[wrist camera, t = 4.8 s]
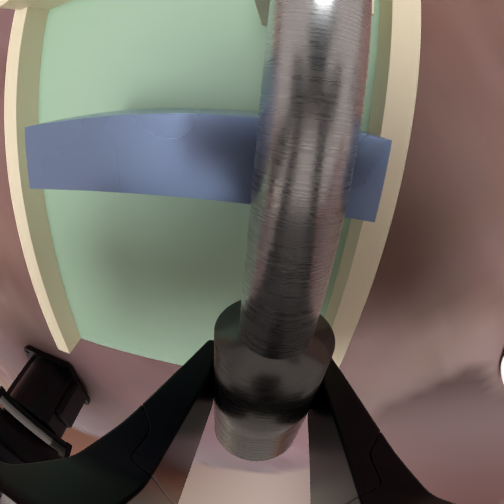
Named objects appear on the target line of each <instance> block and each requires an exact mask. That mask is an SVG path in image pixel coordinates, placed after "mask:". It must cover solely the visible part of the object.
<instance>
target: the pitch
mask: <svg viewBox="0 0 504 504" xmlns="http://www.w3.org/2000/svg"><path fill="white" fill-rule="evenodd" d="M269 6H270V0H0V8H6V9H16V10H15V14H14V19H13V24H12V29H11V35H10V41H9V48H8V56H7V66H6V78H5V98H4V126H5V147H6V159H7V169H8V178H9V185H10V192H11V198H12V204H13V209H14V215H15V220H16V224H17V229H18V233H19V238H20V242H21V246H22V250H23V253H24V257H25V261H26V264H27V267H28V271H29V274H30V277H31V280H32V284H33V287H34V290H35V292H36V295H37V298H38V301H39V304H40V306H41V309H42V312H43V314H44V317H45V319H46V322H47V324H48V327H49V329H50V331H51V334H52V336H53V338H54V341H55V343H56V345H57V347H58V349H59V350H61V351H64V352H67V353H69V354H70V353H71V352H72V350H73V349H74V347H75V346H76V344H77V343H78V342H79V340H80V339H85V340H88V341H91V342H94V343H97V344H100V345H104V346H107V347H110V348H114V349H117V350H121V351H124V352H128V353H132V354H136V355H139V356H143V357H147V358H151V359H156V360H160V361H164V362H169V363H173V364H178V365H182V366H183V365H184V364H185V363H186V362H187V361H188V360H189V359H190V358H191V357H192V356H193V355H194V354H195V353H196V352H197V351H198V350H199V349H200V348H201V347H202V346H203V345H204V344H205V343H206V342H207V341H208V340H214V327H215V323H216V321H217V318H218V317H219V315H220V314H221V313H222V312H223V311H224V310H225V309H226V308H227V307H228V306H230V305H231V304H233V303H235V302H237V301H240V300H242V289H243V278H244V267H245V255H246V244H247V233H248V222H249V211H250V204H242V203H233V202H224V201H215V200H205V199H195V198H184V197H173V196H161V195H148V194H134V193H119V192H102V191H82V190H56V189H30V186H29V178H28V169H27V158H26V144H25V127H28V126H32V125H36V124H41V123H45V122H50V121H55V120H60V119H65V118H70V117H76V116H82V115H89V114H95V113H103V112H110V111H119V110H135V109H164V108H193V109H222V110H239V111H252V112H259V105H260V95H261V85H262V74H263V64H264V54H265V45H266V35H267V25H268V15H269ZM420 41H421V0H372V20H371V37H370V51H369V62H368V73H367V82H366V91H365V99H364V107H363V115H362V122H361V129H360V130H363V131H367V132H370V133H373V134H375V135H378V136H381V137H384V138H387V139H390V140H392V144H391V150H390V155H389V161H388V166H387V171H386V176H385V180H384V185H383V190H382V194H381V198H380V203H379V207H378V211H377V215H376V219H375V222H370V221H364V220H358V219H352V218H345V217H344V221H343V225H342V230H341V234H340V238H339V243H338V247H337V251H336V255H335V259H334V263H333V267H332V271H331V275H330V279H329V283H328V286H327V290H326V294H325V297H324V301H323V304H322V308H321V311H320V314H321V315H322V316H323V317H324V318H325V319H326V320H327V322H328V323H329V324H330V326H331V328H332V330H333V332H334V336H335V350H334V353H333V355H332V358H333V360H334V361H335V363H336V364H337V366H338V367H340V364H341V362H342V360H343V358H344V355H345V353H346V351H347V348H348V346H349V344H350V341H351V339H352V336H353V334H354V331H355V329H356V327H357V324H358V321H359V319H360V316H361V314H362V311H363V308H364V306H365V303H366V300H367V298H368V295H369V292H370V289H371V286H372V283H373V280H374V277H375V274H376V271H377V268H378V265H379V262H380V259H381V256H382V253H383V249H384V246H385V243H386V239H387V236H388V232H389V229H390V225H391V222H392V218H393V214H394V210H395V206H396V202H397V198H398V194H399V190H400V186H401V181H402V177H403V172H404V167H405V162H406V157H407V152H408V147H409V141H410V135H411V129H412V123H413V116H414V109H415V101H416V93H417V83H418V73H419V60H420Z"/></svg>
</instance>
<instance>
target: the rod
mask: <svg viewBox="0 0 504 504" xmlns="http://www.w3.org/2000/svg"><path fill="white" fill-rule="evenodd" d="M371 20H372V0H270V6H269V15H268V25H267V35H266V45H265V54H264V64H263V74H262V85H261V95H260V105H259V112H252V111H239V110H222V109H193V108H164V109H135V110H119V111H110V112H103V113H95V114H89V115H82V116H76V117H70V118H65V119H60V120H55V121H50V122H45V123H41V124H36V125H32V126H28V127H25V144H26V158H27V169H28V178H29V186H30V189H56V190H82V191H102V192H119V193H134V194H148V195H161V196H173V197H184V198H195V199H205V200H215V201H224V202H233V203H242V204H250V211H249V222H248V233H247V244H246V255H245V267H244V278H243V289H242V300H240V301H237V302H235V303H233V304H231V305H230V306H228V307H227V308H226V309H225V310H224V311H223V312H222V313H221V314H220V315H219V317H218V318H217V321H216V323H215V327H214V418H215V433H216V436H217V438H218V440H219V442H220V443H221V445H222V446H223V447H224V448H225V449H226V450H227V451H228V452H230V453H231V454H233V455H235V456H237V457H239V458H242V459H245V460H251V461H264V460H269V459H272V458H275V457H277V456H279V455H281V454H282V453H284V452H285V451H286V450H287V449H288V448H289V447H290V446H291V444H292V443H293V441H294V439H295V437H296V435H297V433H298V431H299V429H300V427H301V425H302V423H303V421H304V419H305V417H306V415H307V413H308V411H309V408H310V406H311V404H312V402H313V400H314V398H315V395H316V393H317V391H318V389H319V386H320V384H321V382H322V379H323V377H324V375H325V372H326V370H327V368H328V365H329V363H330V360H331V358H332V355H333V353H334V350H335V336H334V332H333V330H332V328H331V326H330V324H329V323H328V322H327V320H326V319H325V318H324V317H323V316H322V315H321V314H320V311H321V308H322V304H323V301H324V297H325V294H326V290H327V286H328V283H329V279H330V275H331V271H332V267H333V263H334V259H335V255H336V251H337V247H338V243H339V238H340V234H341V230H342V225H343V221H344V217H345V218H352V219H358V220H364V221H370V222H375V219H376V215H377V211H378V207H379V203H380V198H381V194H382V190H383V185H384V180H385V176H386V171H387V166H388V161H389V155H390V150H391V144H392V140H390V139H387V138H384V137H381V136H378V135H375V134H373V133H370V132H367V131H363V130H360V129H361V122H362V115H363V107H364V99H365V91H366V82H367V73H368V62H369V51H370V37H371Z"/></svg>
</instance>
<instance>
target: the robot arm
mask: <svg viewBox="0 0 504 504" xmlns="http://www.w3.org/2000/svg"><path fill="white" fill-rule="evenodd" d="M24 350H25V352H26V354H27V356H28V358H29V359H30V360H29V361H28V362H27V364H26V365H25V366H24V368H23V369H22V371H21V372H20V373H19V375H18V376H17V378H16V379H15V380H14V382H13V383H12V385H11V386H10V388H9V389H8V391H7V392H6V391H5V389H4V388H3V387H2V386H0V403H1V404H2V405H3V406H4V407H5V408H6V409H7V410H8V411H9V412H10V413H9V412H8V411H7V410H6V409H5V408H2V409H1V408H0V504H178V502H179V499H180V496H181V493H182V491H183V487H184V485H185V482H186V479H187V477H188V474H189V471H190V468H191V465H192V462H193V460H194V457H195V454H196V451H197V448H198V445H199V442H200V439H201V437H202V434H203V431H204V428H205V425H206V422H207V419H208V416H209V413H210V410H211V407H212V404H213V400H214V340H208V341H207V342H206V343H205V344H204V345H203V346H202V347H201V348H200V349H199V350H198V351H197V352H196V353H195V354H194V355H193V356H192V357H191V358H190V359H189V360H188V361H187V362H186V363H185V364H184V365H183V366H182V367H181V368H180V369H179V370H178V371H177V372H176V373H175V374H173V375H172V376H171V377H170V378H169V379H168V380H167V381H166V382H165V383H164V384H163V385H162V386H161V387H160V388H159V389H158V390H157V391H156V392H155V393H154V394H153V395H152V396H151V397H150V398H149V399H148V400H146V401H145V402H144V403H143V406H142V405H141V406H140V407H139V408H138V409H137V410H136V411H135V412H134V413H133V414H131V415H130V416H129V417H128V418H127V419H126V420H125V421H123V422H122V423H121V424H119V425H118V426H117V427H115V428H114V429H113V430H111V431H110V432H109V433H107V434H106V435H104V436H103V437H101V438H100V439H99V440H97V441H96V442H94V443H93V444H91V445H90V446H88V447H87V448H85V449H84V450H82V451H81V452H79V453H77V454H75V455H73V456H70V452H71V449H72V445H71V444H69V443H68V442H65V441H64V440H62V439H61V438H62V436H63V434H64V432H65V430H66V428H67V427H68V428H71V427H72V425H73V423H74V421H75V419H76V417H77V415H78V414H79V412H80V410H81V408H82V406H83V404H86V405H89V403H90V400H89V398H88V397H87V395H86V393H85V391H84V389H83V388H82V386H81V384H80V382H79V380H78V378H77V376H76V374H75V372H74V370H73V368H72V367H71V366H70V365H69V364H68V363H65V362H63V361H60V360H58V359H56V358H53V357H51V356H49V355H46V354H44V353H42V352H40V351H37V350H35V349H33V348H31V347H29V346H26V347H25V348H24ZM14 416H15V417H16V418H17V419H18V420H19V421H18V420H17V419H16V418H15V417H14ZM22 423H23V424H24V425H25V426H24V425H23V424H22ZM27 427H28V428H29V429H30V430H31V431H30V430H29V429H28V428H27ZM33 432H34V433H35V434H36V435H35V434H34V433H33ZM308 433H309V457H310V493H311V504H454V503H451V502H449V501H446V500H443V499H441V498H438V497H436V496H434V495H433V494H432V493H430V492H429V491H428V490H427V489H426V488H425V487H424V486H423V485H422V484H421V483H420V482H419V481H418V479H417V478H416V477H415V476H414V475H413V474H412V472H411V471H410V470H409V469H408V468H407V467H406V466H405V464H404V463H403V462H402V461H401V459H400V458H399V457H398V456H397V454H396V453H395V452H394V451H393V449H392V447H391V446H390V445H389V443H388V442H387V440H386V439H385V437H384V436H383V434H382V433H380V430H379V428H378V427H377V425H376V424H375V422H374V421H373V419H372V417H371V416H370V414H369V413H368V411H367V410H366V408H365V407H364V405H363V404H362V402H361V401H360V399H359V398H358V396H357V395H356V393H355V392H354V390H353V389H352V387H351V386H350V384H349V383H348V381H347V380H346V378H345V377H344V375H343V373H342V372H341V370H340V369H339V367H338V366H337V364H336V363H335V361H334V360H333V358H331V360H330V363H329V365H328V368H327V370H326V372H325V375H324V377H323V379H322V382H321V384H320V386H319V389H318V391H317V393H316V395H315V398H314V400H313V402H312V404H311V406H310V408H309V411H308ZM38 436H39V437H40V438H41V439H40V438H39V437H38ZM43 440H44V441H45V442H44V441H43ZM47 443H48V444H49V445H48V444H47ZM69 456H70V457H69Z"/></svg>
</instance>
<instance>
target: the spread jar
mask: <svg viewBox="0 0 504 504" xmlns="http://www.w3.org/2000/svg"><path fill="white" fill-rule="evenodd" d="M501 377H502V381H503V384H504V356H503V358H502V361H501Z"/></svg>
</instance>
